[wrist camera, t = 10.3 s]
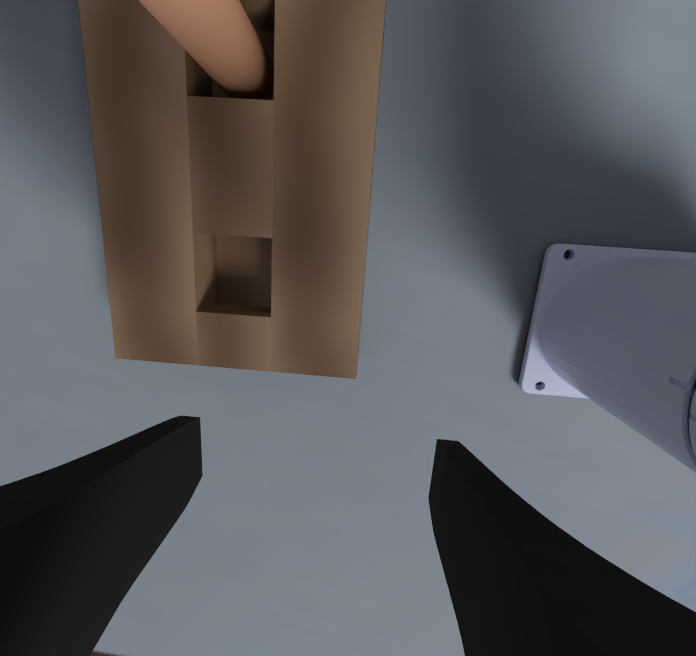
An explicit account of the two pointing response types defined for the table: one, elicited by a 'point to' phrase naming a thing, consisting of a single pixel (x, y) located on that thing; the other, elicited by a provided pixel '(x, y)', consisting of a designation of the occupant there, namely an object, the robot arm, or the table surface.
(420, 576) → the table surface
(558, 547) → the robot arm
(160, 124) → the bore block
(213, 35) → the pin
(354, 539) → the table surface
